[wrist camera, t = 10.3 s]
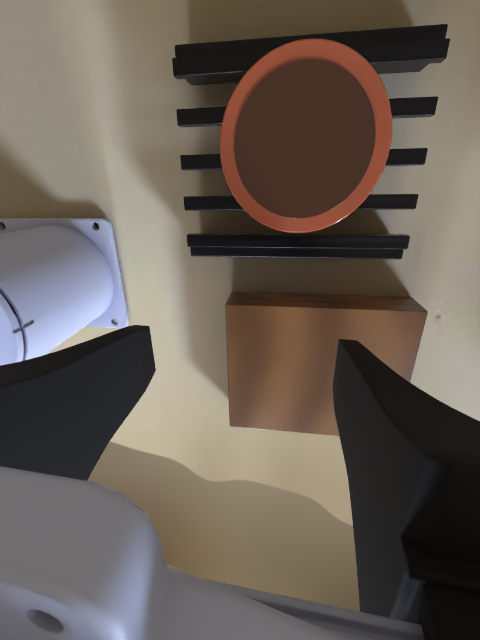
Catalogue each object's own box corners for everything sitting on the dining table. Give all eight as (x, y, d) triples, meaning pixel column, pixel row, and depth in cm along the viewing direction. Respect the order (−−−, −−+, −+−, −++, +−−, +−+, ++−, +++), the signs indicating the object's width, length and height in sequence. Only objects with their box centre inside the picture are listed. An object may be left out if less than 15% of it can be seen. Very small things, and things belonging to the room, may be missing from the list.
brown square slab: (234, 405, 26) (229, 426, 24) (231, 291, 22) (225, 304, 19) (385, 417, 24) (395, 441, 22) (412, 297, 20) (428, 311, 18)
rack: (201, 248, 21) (188, 258, 18) (189, 63, 17) (170, 40, 14) (388, 250, 19) (405, 261, 17) (424, 46, 15) (454, 17, 12)
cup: (243, 216, 17) (222, 232, 11) (241, 96, 15) (215, 44, 9) (346, 216, 16) (377, 233, 11) (361, 90, 14) (410, 29, 8)
